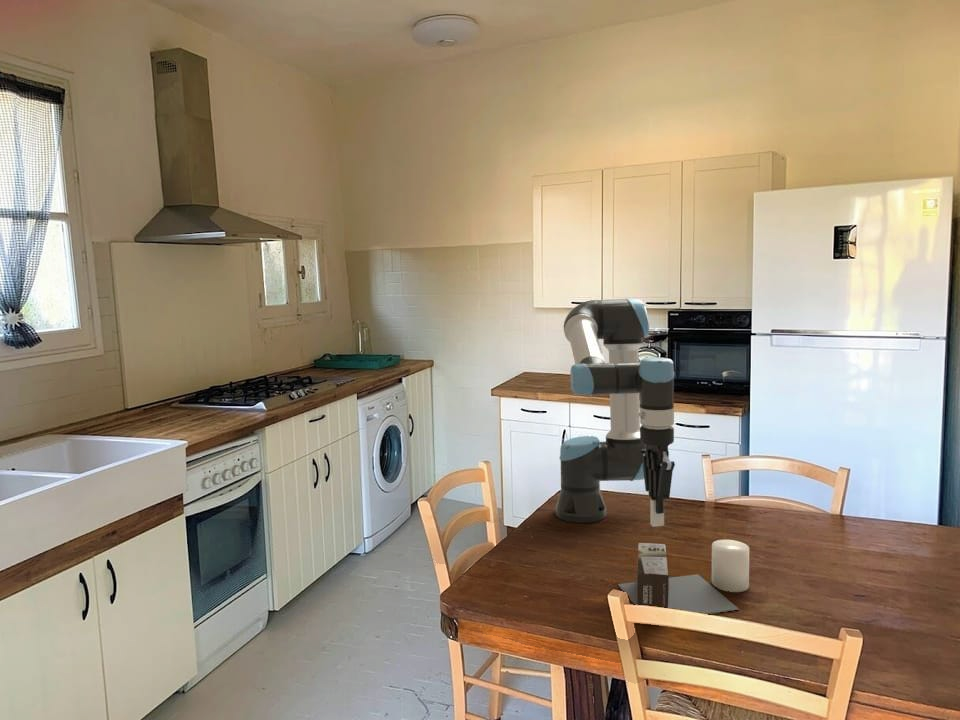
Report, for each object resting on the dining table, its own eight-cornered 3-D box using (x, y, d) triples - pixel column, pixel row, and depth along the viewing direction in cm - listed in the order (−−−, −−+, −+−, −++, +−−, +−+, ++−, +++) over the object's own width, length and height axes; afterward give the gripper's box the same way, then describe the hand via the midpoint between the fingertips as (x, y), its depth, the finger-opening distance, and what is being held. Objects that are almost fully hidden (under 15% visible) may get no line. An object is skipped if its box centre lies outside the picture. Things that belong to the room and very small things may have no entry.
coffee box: (637, 542, 152) (637, 571, 136) (665, 543, 150) (668, 573, 135) (637, 579, 153) (637, 613, 137) (665, 581, 151) (668, 615, 136)
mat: (618, 585, 151) (618, 584, 150) (697, 575, 154) (697, 574, 154) (650, 622, 134) (650, 620, 134) (738, 610, 137) (738, 608, 137)
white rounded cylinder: (705, 578, 153) (705, 541, 152) (736, 574, 154) (736, 538, 153) (723, 594, 145) (723, 555, 144) (756, 589, 146) (756, 551, 145)
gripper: (629, 421, 154) (630, 517, 157) (653, 433, 141) (654, 537, 144) (659, 418, 155) (659, 513, 158) (685, 430, 143) (685, 533, 145)
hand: (657, 524), depth 151 cm, fingers closed
